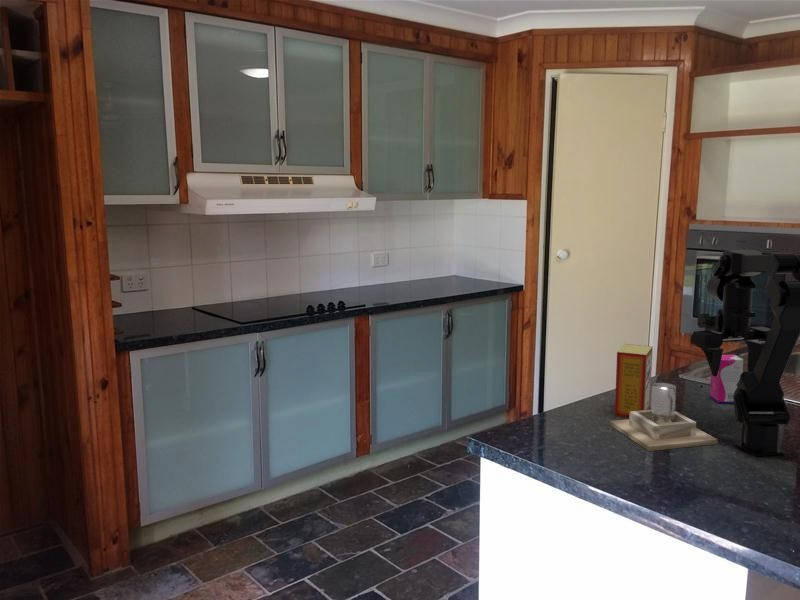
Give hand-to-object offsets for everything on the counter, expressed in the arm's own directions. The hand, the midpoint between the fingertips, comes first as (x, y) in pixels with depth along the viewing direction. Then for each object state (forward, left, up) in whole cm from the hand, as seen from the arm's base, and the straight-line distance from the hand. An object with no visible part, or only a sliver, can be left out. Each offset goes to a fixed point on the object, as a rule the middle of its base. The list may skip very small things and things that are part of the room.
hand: (732, 374), depth 149 cm
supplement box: (+16, -11, -12) cm, 23 cm away
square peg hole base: (-1, +18, -12) cm, 21 cm away
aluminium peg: (-1, +18, -11) cm, 21 cm away
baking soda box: (+14, +16, -12) cm, 24 cm away
